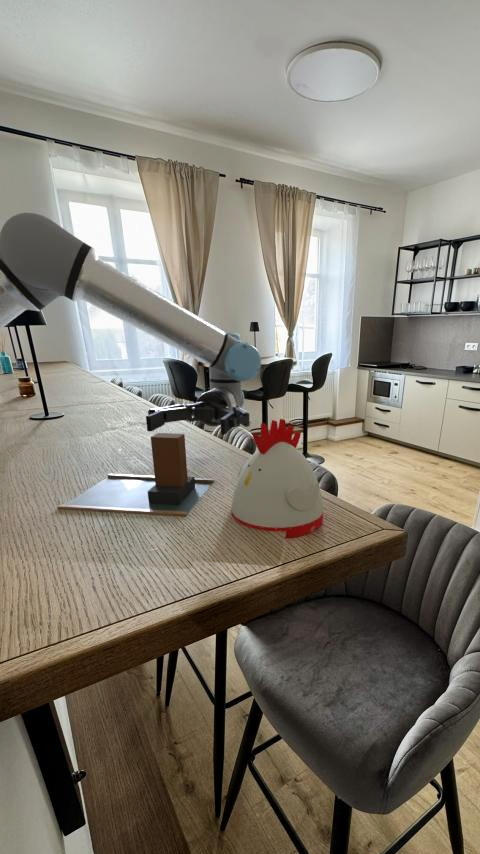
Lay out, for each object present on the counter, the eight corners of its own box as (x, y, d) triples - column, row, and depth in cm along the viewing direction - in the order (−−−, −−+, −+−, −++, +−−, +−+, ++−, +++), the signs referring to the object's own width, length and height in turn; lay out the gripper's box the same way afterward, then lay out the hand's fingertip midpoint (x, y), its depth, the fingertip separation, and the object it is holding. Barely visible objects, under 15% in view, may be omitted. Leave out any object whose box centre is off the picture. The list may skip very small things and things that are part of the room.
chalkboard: (58, 516, 62) (56, 506, 62) (110, 481, 77) (109, 473, 77) (186, 523, 60) (186, 513, 60) (214, 487, 75) (214, 478, 75)
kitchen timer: (214, 514, 64) (209, 417, 58) (282, 495, 72) (283, 408, 66) (270, 548, 54) (271, 435, 48) (341, 521, 62) (349, 422, 57)
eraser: (167, 486, 72) (161, 429, 68) (195, 487, 71) (191, 430, 68) (148, 503, 64) (141, 440, 61) (179, 505, 64) (174, 442, 60)
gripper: (270, 425, 93) (254, 449, 73) (164, 421, 95) (121, 443, 76) (270, 391, 90) (254, 406, 70) (161, 388, 93) (115, 401, 73)
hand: (185, 425), depth 73 cm, fingers open, 13 cm apart
